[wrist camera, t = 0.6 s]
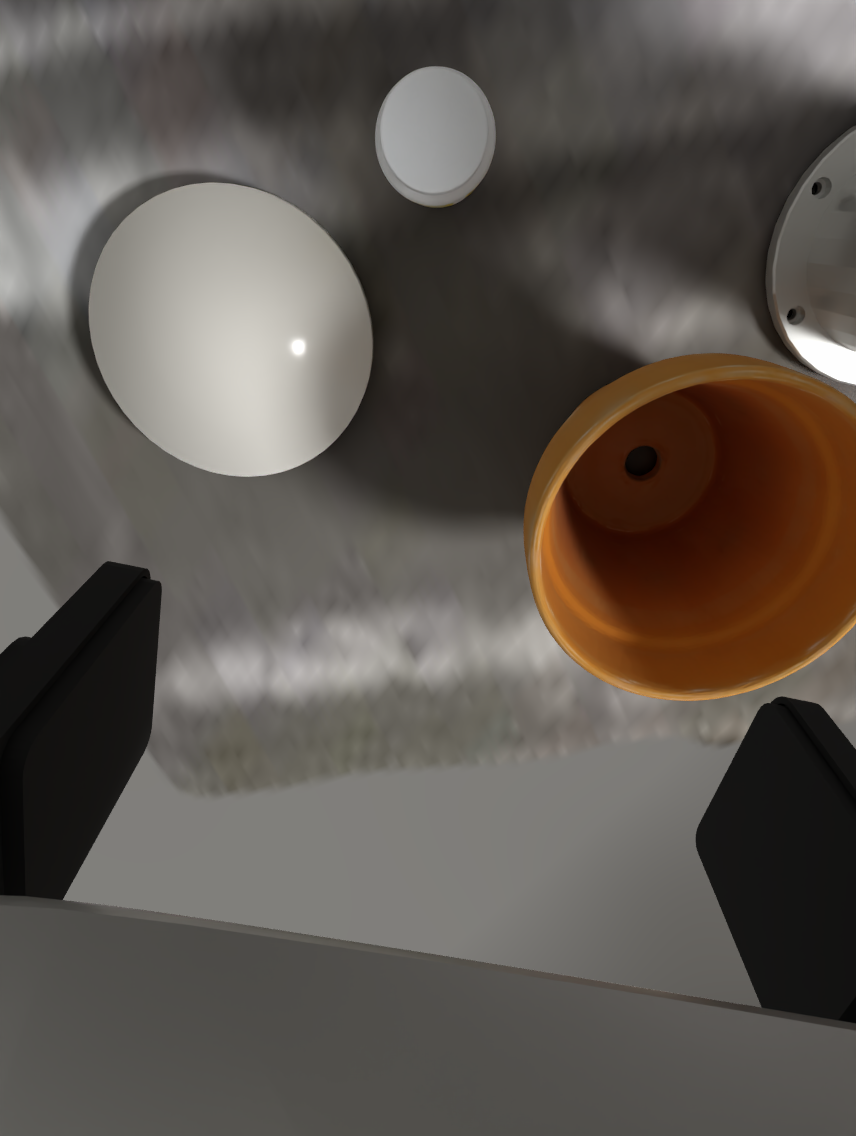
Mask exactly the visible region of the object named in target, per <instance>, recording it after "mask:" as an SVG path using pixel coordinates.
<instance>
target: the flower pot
mask: <svg viewBox="0 0 856 1136" xmlns="http://www.w3.org/2000/svg"><path fill="white" fill-rule="evenodd" d="M640 446H649V447H652V448H654V449H655V451H656V453H657V463H656V465H655V467H654V468H653V469H652V470H651V471H650V472H649V473H647V474H645V475H642V476H636V475H633V474H631V473H629V472H628V471H627V469H626V467H625V462H626V459H627V457H628V455H629V453H630V452H631V451H632V450H634V449H636V448H638V447H640ZM524 548H525V556H526V563H527V570H528V575H529V580H530V585H531V589H532V593H533V596H534V600H535V603H536V606H537V609H538V611H539V614H540V616H541V618H542V620H543V622H544V624H545V626H546V627H547V629H548V631H549V632H550V634H551V635H552V637H553V638H554V639H555V641H556V642H557V643H558V645H559V646H560V647H561V648H562V649H563V650H564V652H565V653H566V654H567V655H568V656H569V657H571V658H572V659H573V660H574V661H575V662H576V663H577V664H579V665H580V666H581V667H582V668H584V669H585V670H586V671H588V672H589V673H591V674H592V675H594V676H596V677H597V678H599V679H601V680H602V681H604V682H607V683H609V684H611V685H613V686H615V687H617V688H620V689H622V690H625V691H628V692H631V693H635V694H638V695H642V696H647V697H651V698H658V699H665V700H680V701H694V700H708V699H716V698H722V697H727V696H733V695H737V694H740V693H744V692H748V691H752V690H755V689H758V688H761V687H763V686H766V685H768V684H771V683H773V682H775V681H778V680H780V679H782V678H784V677H786V676H788V675H790V674H792V673H794V672H795V671H797V670H799V669H801V668H803V667H805V666H806V665H808V664H809V663H811V662H812V661H813V660H815V659H816V658H818V657H819V656H821V655H822V654H823V653H825V652H826V651H827V650H828V649H830V648H831V647H832V646H833V645H834V644H836V643H837V642H838V641H839V640H840V639H841V638H842V637H843V636H844V635H845V634H846V633H847V632H848V631H849V630H850V629H851V628H852V627H853V626H854V625H855V624H856V403H854V402H853V401H852V400H851V399H849V398H848V397H847V396H845V395H844V394H842V393H841V392H839V391H838V390H836V389H835V388H833V387H831V386H829V385H827V384H825V383H823V382H821V381H819V380H817V379H815V378H812V377H810V376H807V375H805V374H802V373H799V372H797V371H794V370H792V369H789V368H786V367H783V366H780V365H777V364H774V363H771V362H767V361H763V360H759V359H755V358H751V357H746V356H740V355H733V354H722V353H706V354H692V355H685V356H679V357H674V358H669V359H665V360H662V361H658V362H655V363H652V364H649V365H646V366H644V367H641V368H639V369H637V370H634V371H632V372H630V373H628V374H626V375H624V376H622V377H620V378H619V379H617V380H615V381H613V382H612V383H610V384H608V385H606V386H604V387H602V388H600V389H599V390H597V391H595V392H594V393H593V394H591V395H590V396H589V397H587V398H586V399H585V400H584V401H583V402H582V403H581V404H580V405H579V406H578V407H577V408H576V409H575V410H574V412H573V413H572V414H571V416H570V417H569V418H568V419H567V420H566V421H565V422H564V424H563V425H562V426H561V427H560V429H559V430H558V431H557V432H556V434H555V435H554V437H553V438H552V440H551V441H550V443H549V444H548V446H547V448H546V449H545V451H544V453H543V455H542V457H541V459H540V461H539V463H538V465H537V467H536V470H535V472H534V475H533V477H532V481H531V484H530V487H529V491H528V495H527V500H526V505H525V512H524Z"/></svg>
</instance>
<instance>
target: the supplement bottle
mask: <svg viewBox="0 0 856 1136" xmlns="http://www.w3.org/2000/svg"><path fill="white" fill-rule="evenodd" d="M495 144H496V127H495V120H494V115H493V112H492V109H491V106H490V104H489V102H488V100H487V98H486V96H485V94H484V93H483V91H482V90H481V89H480V87H479V86H478V85H477V84H476V83H475V82H474V81H473V80H472V79H471V78H469V77H468V76H466V75H465V74H463V73H462V72H460V71H457V70H455V69H452V68H448V67H442V66H430V67H424V68H420V69H417V70H415V71H413V72H411V73H409V74H408V75H406V76H405V77H403V78H402V79H401V80H400V81H399V82H398V83H397V84H396V85H395V86H394V87H393V88H392V89H391V90H390V92H389V93H388V95H387V96H386V98H385V100H384V101H383V104H382V106H381V108H380V111H379V114H378V118H377V122H376V129H375V146H376V153H377V157H378V161H379V164H380V166H381V169H382V171H383V173H384V175H385V177H386V178H387V180H388V181H389V183H390V184H391V185H392V186H393V187H394V188H395V189H396V190H397V191H398V192H399V193H400V194H401V195H402V196H404V197H405V198H407V199H408V200H410V201H413V202H415V203H417V204H420V205H422V206H426V207H432V208H443V207H448V206H452V205H454V204H456V203H458V202H460V201H462V200H463V199H465V198H466V197H467V196H468V195H470V194H471V193H472V192H473V191H474V190H475V188H476V187H477V186H478V185H479V183H480V182H481V181H482V179H483V178H484V177H485V175H486V173H487V171H488V170H489V167H490V164H491V161H492V158H493V155H494V151H495Z"/></svg>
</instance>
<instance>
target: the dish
mask: <svg viewBox="0 0 856 1136" xmlns="http://www.w3.org/2000/svg"><path fill="white" fill-rule="evenodd" d="M89 328H90V335H91V342H92V346H93V350H94V353H95V357H96V361H97V364H98V366H99V369H100V371H101V374H102V376H103V379H104V381H105V383H106V385H107V387H108V388H109V390H110V392H111V394H112V396H113V398H114V399H115V400H116V402H117V403H118V405H119V406H120V408H121V409H122V411H123V412H124V413H125V415H126V416H127V417H128V418H129V419H130V420H131V422H132V423H133V424H134V425H135V426H136V427H137V428H138V429H139V430H140V431H141V432H142V433H143V434H144V435H145V436H146V437H148V438H149V439H150V440H151V441H152V442H154V443H155V444H156V445H158V446H159V447H160V448H162V449H163V450H164V451H166V452H168V453H169V454H171V455H173V456H174V457H176V458H178V459H180V460H182V461H184V462H186V463H188V464H191V465H193V466H195V467H198V468H201V469H204V470H207V471H211V472H214V473H219V474H225V475H230V476H245V477H250V476H265V475H270V474H275V473H280V472H283V471H286V470H289V469H292V468H295V467H297V466H299V465H301V464H303V463H305V462H307V461H309V460H311V459H313V458H314V457H316V456H317V455H319V454H320V453H321V452H323V451H324V450H326V449H327V448H328V447H329V446H330V445H331V444H332V443H333V442H334V441H335V440H336V439H337V438H338V437H339V436H340V435H341V433H342V432H343V431H344V430H345V429H346V427H347V426H348V425H349V423H350V421H351V420H352V418H353V417H354V415H355V413H356V412H357V409H358V407H359V405H360V403H361V400H362V398H363V396H364V394H365V391H366V388H367V385H368V381H369V378H370V374H371V367H372V361H373V340H374V338H373V328H372V319H371V314H370V310H369V306H368V301H367V298H366V295H365V293H364V290H363V287H362V284H361V282H360V280H359V278H358V276H357V274H356V272H355V270H354V268H353V266H352V264H351V262H350V261H349V259H348V258H347V256H346V255H345V253H344V252H343V250H342V249H341V247H340V246H339V245H338V244H337V243H336V241H335V240H334V239H333V238H332V237H331V236H330V234H329V233H328V232H327V231H326V230H325V229H324V228H323V227H322V226H321V225H319V224H318V223H317V222H316V221H315V220H314V219H313V218H312V217H310V216H309V215H308V214H306V213H305V212H303V211H302V210H300V209H299V208H298V207H296V206H295V205H293V204H291V203H289V202H287V201H285V200H283V199H281V198H280V197H278V196H276V195H273V194H270V193H267V192H265V191H262V190H259V189H256V188H251V187H246V186H241V185H237V184H229V183H213V182H210V183H199V184H190V185H186V186H182V187H178V188H174V189H171V190H169V191H166V192H164V193H162V194H159V195H157V196H155V197H153V198H151V199H150V200H148V201H147V202H145V203H143V204H142V205H140V206H139V207H138V208H136V209H135V210H134V211H133V212H132V213H131V214H130V215H128V216H127V217H126V218H125V219H124V220H123V221H122V223H121V224H120V225H119V226H118V227H117V229H116V230H115V231H114V232H113V233H112V235H111V237H110V238H109V240H108V242H107V243H106V245H105V247H104V248H103V250H102V253H101V255H100V257H99V260H98V262H97V265H96V267H95V271H94V275H93V279H92V283H91V288H90V297H89Z"/></svg>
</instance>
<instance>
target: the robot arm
mask: <svg viewBox="0 0 856 1136" xmlns="http://www.w3.org/2000/svg"><path fill="white" fill-rule="evenodd" d="M814 183H816V184H817V191H816V193H815V194H813V195H812V186H813V184H814ZM765 282H766V293H767V303H768V307H769V311H770V314H771V317H772V320H773V324H774V327H775V329H776V330H777V332H778V334H779V336H780V337H781V339H782V341H783V343H784V344H785V346H786V347H787V348H788V349H789V351H790V352H791V353H792V354H793V355H794V356H795V357H796V358H797V359H798V360H799V361H800V362H801V363H802V364H804V365H805V366H807V367H809V368H810V369H812V370H813V371H815V372H816V373H818V374H820V375H822V376H825V377H827V378H829V379H832V380H834V381H836V382H840V383H844V384H848V385H852V386H856V125H855V126H853V127H851V128H850V129H848V130H847V131H846V132H845V133H844V134H842V135H841V136H840V137H839V138H838V139H836V140H835V141H834V142H833V143H832V144H830V145H829V146H828V147H827V148H826V149H824V151H823V152H822V153H821V154H820V155H819V156H818V157H817V159H816V160H815V161H814V162H813V163H812V164H811V165H810V167H809V168H808V169H807V170H806V171H805V172H804V173H803V175H802V177H801V178H800V180H799V181H798V183H797V184H796V186H795V187H794V189H793V191H792V192H791V194H790V195H789V197H788V198H787V200H786V203H785V205H784V207H783V209H782V212H781V214H780V216H779V218H778V220H777V223H776V225H775V228H774V232H773V235H772V239H771V243H770V247H769V250H768V255H767V266H766V278H765ZM790 309H792V310H793V314H792V316H791V317H790V318H787V314H788V312H789V310H790ZM161 594H162V586H161V583H160V581H155V580H150V572H149V570H148V569H145V568H140V567H135V566H130V565H125V564H121V563H116V562H111V561H107V562H105V563H104V564H103V565H102V566H101V567H100V568H99V569H98V570H97V571H96V572H95V573H94V574H93V575H92V576H91V577H90V578H89V579H88V580H87V581H86V582H85V583H84V584H83V585H82V586H81V588H80V589H79V590H78V591H77V592H76V593H75V594H74V595H73V596H72V597H71V598H70V599H69V600H68V601H67V602H66V603H65V604H64V605H63V606H62V607H61V608H60V609H59V610H58V611H57V612H56V613H55V614H54V615H53V617H51V618H50V619H49V620H48V621H47V622H46V623H45V624H44V626H43V627H42V628H41V629H40V630H39V631H38V632H37V633H36V634H35V635H34V636H33V637H32V638H30V637H21V638H18V639H17V640H15V641H14V642H13V643H11V644H10V645H9V646H8V647H7V648H6V649H5V650H4V651H3V652H2V653H1V654H0V1136H856V749H855V748H854V747H853V745H851V743H850V742H849V740H848V739H847V738H846V737H845V735H844V734H843V733H842V731H841V730H840V729H839V728H838V726H837V725H836V724H835V723H834V721H833V720H832V719H831V718H830V716H829V715H828V714H827V713H826V711H825V710H824V709H823V708H822V707H821V706H820V705H819V704H816V703H812V702H807V701H802V700H797V699H792V698H787V697H782V696H781V697H777V698H776V699H774V700H773V701H772V702H771V703H766V704H764V705H763V706H761V708H760V709H759V710H758V712H757V714H756V716H755V718H754V720H753V722H752V724H751V726H750V728H749V730H748V731H747V733H746V735H745V737H744V739H743V741H742V743H741V745H740V747H739V749H738V751H737V753H736V754H735V757H734V758H733V760H732V763H731V764H730V766H729V768H728V770H727V772H726V774H725V776H724V778H723V780H722V782H721V783H720V785H719V787H718V789H717V791H716V793H715V795H714V797H713V799H712V801H711V802H710V805H709V807H708V808H707V810H706V812H705V814H704V816H703V818H702V820H701V822H700V824H699V826H698V828H697V832H696V847H697V851H698V854H699V856H700V859H701V861H702V863H703V866H704V868H705V871H706V873H707V875H708V878H709V880H710V883H711V885H712V888H713V890H714V893H715V895H716V897H717V900H718V902H719V905H720V907H721V909H722V912H723V914H724V917H725V919H726V922H727V924H728V926H729V929H730V931H731V934H732V936H733V939H734V941H735V943H736V946H737V948H738V951H739V953H740V956H741V958H742V960H743V963H744V965H745V968H746V970H747V972H748V975H749V977H750V980H751V982H752V985H753V987H754V990H755V992H756V994H757V997H758V999H759V1002H760V1004H761V1007H762V1008H760V1007H755V1006H748V1005H743V1004H736V1003H730V1002H725V1001H719V1000H713V999H707V998H701V997H694V996H689V995H683V994H677V993H671V992H665V991H659V990H653V989H646V988H640V987H634V986H628V985H621V984H616V983H609V982H603V981H597V980H591V979H585V978H579V977H573V976H567V975H560V974H554V973H548V972H542V971H536V970H529V969H523V968H517V967H511V966H505V965H498V964H492V963H486V962H479V961H473V960H466V959H461V958H454V957H449V956H442V955H436V954H430V953H423V952H417V951H411V950H403V949H397V948H391V947H384V946H378V945H372V944H365V943H359V942H352V941H346V940H340V939H333V938H327V937H320V936H314V935H308V934H301V933H294V932H288V931H282V930H275V929H269V928H263V927H255V926H250V925H243V924H237V923H230V922H223V921H216V920H210V919H202V918H195V917H188V916H181V915H175V914H167V913H161V912H154V911H147V910H140V909H132V908H124V907H117V906H108V905H101V904H92V903H83V902H74V901H65V900H63V898H64V896H65V895H66V893H67V891H68V889H69V887H70V885H71V883H72V882H73V880H74V878H75V876H76V875H77V873H78V871H79V869H80V867H81V865H82V864H83V862H84V860H85V858H86V857H87V855H88V853H89V851H90V849H91V848H92V846H93V844H94V842H95V840H96V838H97V837H98V835H99V833H100V831H101V829H102V828H103V825H104V824H105V822H106V820H107V818H108V817H109V815H110V813H111V811H112V809H113V808H114V806H115V804H116V802H117V800H118V799H119V797H120V795H121V793H122V791H123V789H124V788H125V786H126V784H127V782H128V781H129V779H130V777H131V775H132V773H133V771H134V770H135V768H136V766H137V764H138V762H139V761H140V758H141V757H142V755H143V753H144V751H145V749H146V747H147V744H148V741H149V738H150V734H151V729H152V718H153V704H154V690H155V676H156V663H157V649H158V635H159V621H160V608H161Z"/></svg>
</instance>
